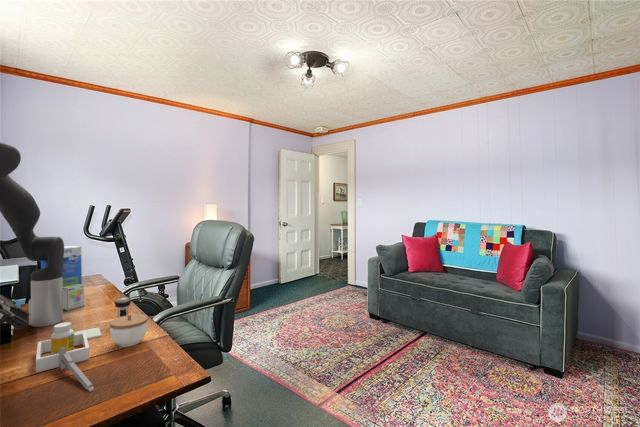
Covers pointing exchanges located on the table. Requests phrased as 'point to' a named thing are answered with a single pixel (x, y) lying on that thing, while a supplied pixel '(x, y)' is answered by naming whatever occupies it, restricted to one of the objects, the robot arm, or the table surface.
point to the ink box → (72, 294)
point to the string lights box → (70, 263)
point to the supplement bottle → (62, 338)
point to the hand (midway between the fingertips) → (25, 321)
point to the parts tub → (53, 360)
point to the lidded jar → (128, 329)
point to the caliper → (73, 369)
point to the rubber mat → (91, 333)
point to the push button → (122, 306)
